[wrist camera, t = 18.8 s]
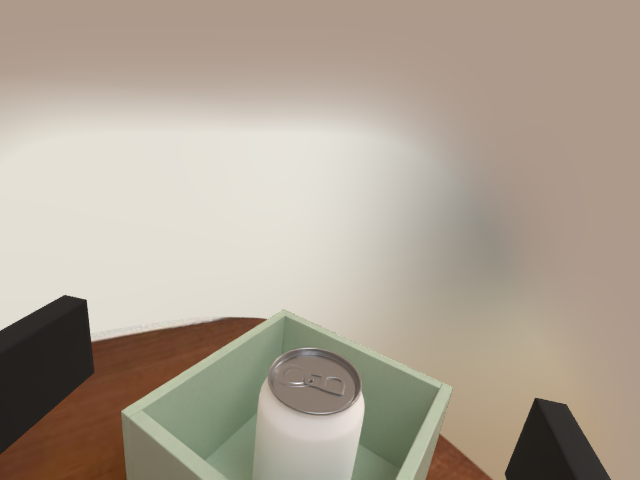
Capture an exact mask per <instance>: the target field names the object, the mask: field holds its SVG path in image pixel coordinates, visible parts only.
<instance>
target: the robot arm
mask: <svg viewBox="0 0 640 480" xmlns="http://www.w3.org/2000/svg"><path fill="white" fill-rule="evenodd" d="M93 373H94V365H93V355H92V346H91V336H90V328H89V318H88V308H87V300H85V299H80V298H76V297H71V296H67V295H64V296H62V297H60V298H59V299H57V300H55V301H53V302H51V303H49V304H48V305H46V306H44V307H42V308H40V309H39V310H37V311H35V312H33V313H31V314H30V315H28V316H26V317H24V318H22V319H21V320H19V321H17V322H15V323H13V324H12V325H10V326H8V327H6V328H4V329H3V330H1V331H0V454H1V453H2V452H4V451H5V450H6V449H7V448H8V447H9V446H10V445H12V444H13V443H14V442H15V441H16V440H17V439H18V438H20V437H21V436H22V435H23V434H24V433H25V432H27V431H28V430H29V429H30V428H31V427H32V426H33V425H35V424H36V423H37V422H38V421H39V420H40V419H41V418H43V417H44V416H45V415H46V414H47V413H48V412H50V411H51V410H52V409H53V408H54V407H55V406H56V405H58V404H59V403H60V402H61V401H62V400H63V399H64V398H66V397H67V396H68V395H69V394H70V393H71V392H73V391H74V390H75V389H76V388H77V387H78V386H79V385H81V384H82V383H83V382H84V381H85V380H86V379H87V378H89V377H90V376H91V375H92V374H93ZM505 476H506V479H507V480H611V479H610V477H609V476H608V474H607V472H606V470H605V469H604V467H603V465H602V464H601V463H600V460H599V459H598V457H597V455H596V454H595V452H594V450H593V449H592V447H591V445H590V444H589V442H588V440H587V438H586V437H585V435H584V434H583V432H582V430H581V428H580V427H579V425H578V423H577V422H576V420H575V418H574V417H573V415H572V413H571V411H570V410H569V408H568V406H567V405H566V404H562V403H557V402H553V401H548V400H543V399H539V398H535V399H534V402H533V405H532V407H531V409H530V412H529V415H528V417H527V420H526V422H525V424H524V427H523V430H522V432H521V434H520V437H519V439H518V442H517V444H516V447H515V449H514V452H513V454H512V457H511V459H510V462H509V464H508V467H507V469H506V472H505Z"/></svg>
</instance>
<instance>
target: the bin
mask: <svg viewBox="0 0 640 480" xmlns="http://www.w3.org/2000/svg"><path fill="white" fill-rule="evenodd" d="M305 347H313V348H321V349H326V350H329V351H332V352H335V353H337V354H339V355H341V356H343V357H344V358H346V359H347V360H349V361H350V362H351V363H352V364H353V365H354V366H355V367H356V369H357V370H358V372H359V374H360V376H361V380H362V395H363V398H364V405H365V407H364V417H363V423H362V428H361V433H360V438H359V443H358V448H357V453H356V458H355V463H354V468H353V473H352V477H351V480H425V479H426V476H427V473H428V469H429V466H430V463H431V459H432V456H433V453H434V450H435V446H436V443H437V440H438V436H439V433H440V430H441V426H442V423H443V420H444V417H445V413H446V410H447V407H448V403H449V400H450V397H451V393H452V390H453V388H452V387H451V386H449V385H446V384H444V383H442V382H440V381H438V380H436V379H434V378H432V377H429V376H427V375H425V374H423V373H420V372H418V371H416V370H414V369H412V368H410V367H408V366H405V365H403V364H401V363H399V362H397V361H394V360H393V359H390V358H388V357H386V356H384V355H382V354H380V353H377V352H375V351H373V350H371V349H368V348H366V347H364V346H362V345H360V344H358V343H356V342H353V341H351V340H349V339H347V338H345V337H343V336H341V335H338V334H336V333H334V332H332V331H330V330H328V329H325V328H323V327H321V326H319V325H317V324H314V323H312V322H310V321H308V320H306V319H304V318H301V317H299V316H297V315H295V314H293V313H290V312H288V311H286V310H282V311H280V312H279V313H277V314H276V315H274V316H272V317H271V318H269V319H268V320H266V321H264V322H263V323H261V324H260V325H258V326H256V327H255V328H253V329H252V330H250V331H248V332H247V333H245V334H244V335H242V336H240V337H239V338H237V339H236V340H234V341H232V342H231V343H229V344H228V345H226V346H224V347H223V348H221V349H220V350H218V351H216V352H215V353H213V354H212V355H210V356H208V357H207V358H205V359H204V360H202V361H200V362H199V363H197V364H196V365H194V366H192V367H191V368H189V369H188V370H186V371H184V372H183V373H181V374H180V375H178V376H176V377H175V378H173V379H172V380H170V381H168V382H167V383H165V384H164V385H162V386H160V387H159V388H157V389H156V390H154V391H152V392H151V393H149V394H148V395H146V396H144V397H143V398H141V399H140V400H138V401H136V402H135V403H133V404H132V405H130V406H128V407H127V408H125V409H124V410H122V411H121V415H122V428H123V440H124V453H125V465H126V478H127V480H252V474H253V461H254V448H255V435H256V423H257V411H258V401H259V394H260V390H261V387H262V385H263V383H264V381H265V380H266V378H267V377H268V371H269V368H270V366H271V364H272V363H273V361H274V360H275V359H276V358H277V357H279V356H280V355H282V354H283V353H285V352H287V351H290V350H293V349H297V348H305Z"/></svg>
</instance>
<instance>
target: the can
mask: <svg viewBox="0 0 640 480" xmlns="http://www.w3.org/2000/svg"><path fill="white" fill-rule="evenodd" d="M364 407H365V405H364V398H363V395H362V380H361V376H360V374H359V372H358V370H357V369H356V367H355V366H354V365H353V364H352V363H351V362H350V361H349V360H347V359H346V358H344V357H343V356H341V355H339V354H337V353H335V352H332V351H329V350H326V349H321V348H313V347H305V348H297V349H293V350H290V351H287V352H285V353H283V354H282V355H280V356H279V357H277V358H276V359H275V360H274V361H273V363H272V364H271V366H270V368H269V371H268V377H267V378H266V380H265V381H264V383H263V385H262V387H261V390H260V394H259V401H258V411H257V423H256V435H255V448H254V461H253V474H252V480H351V477H352V473H353V468H354V463H355V458H356V453H357V448H358V443H359V438H360V433H361V428H362V423H363V417H364Z"/></svg>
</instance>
